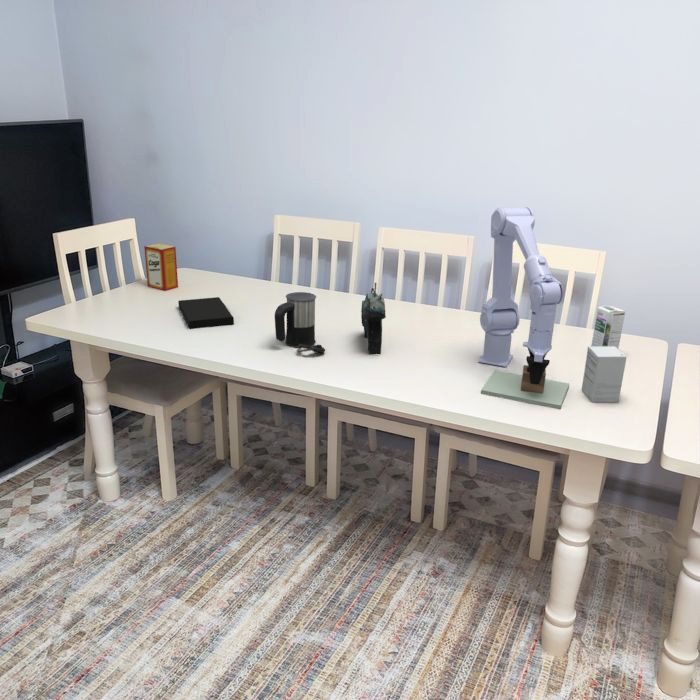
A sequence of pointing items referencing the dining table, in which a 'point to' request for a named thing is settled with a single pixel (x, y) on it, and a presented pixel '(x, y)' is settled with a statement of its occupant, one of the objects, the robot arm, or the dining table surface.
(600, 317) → the syrup box
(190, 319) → the external hard drive
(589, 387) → the supplement box
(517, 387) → the sage board
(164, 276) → the baking soda box
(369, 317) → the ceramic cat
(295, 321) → the milk frother
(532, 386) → the walnut collar
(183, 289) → the dining table surface
